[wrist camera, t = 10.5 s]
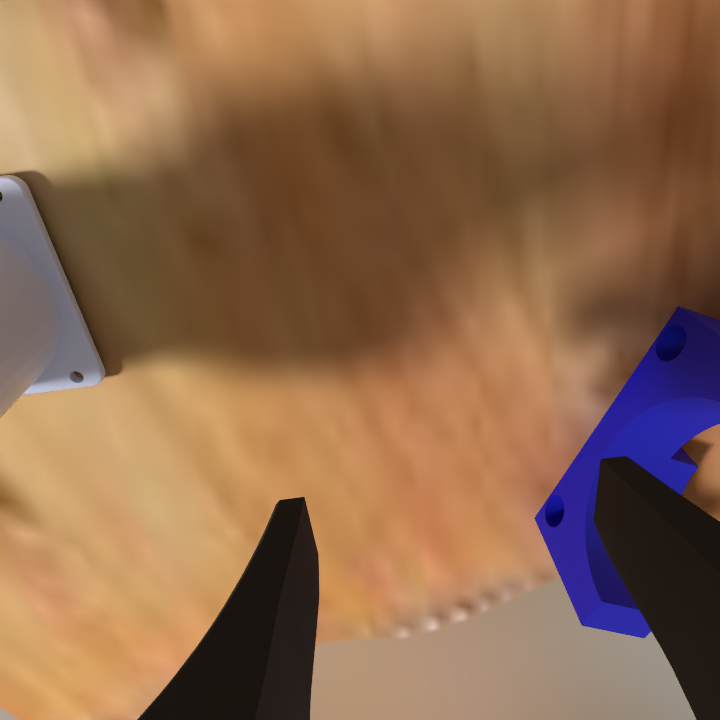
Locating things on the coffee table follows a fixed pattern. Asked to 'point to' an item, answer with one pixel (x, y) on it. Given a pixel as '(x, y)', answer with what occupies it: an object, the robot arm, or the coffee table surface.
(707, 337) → the cable clip
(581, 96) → the coffee table surface
